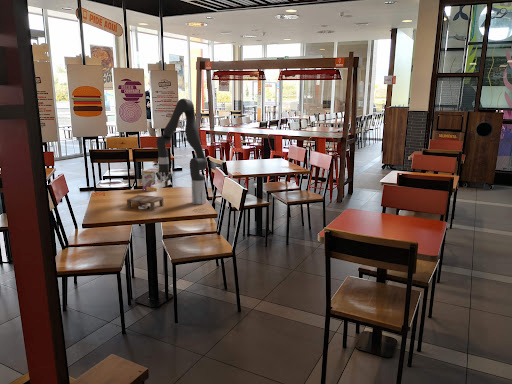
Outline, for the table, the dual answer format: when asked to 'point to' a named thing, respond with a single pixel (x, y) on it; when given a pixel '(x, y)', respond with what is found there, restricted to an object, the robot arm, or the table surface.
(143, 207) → the steel token
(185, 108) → the robot arm
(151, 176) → the candy bar box
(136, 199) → the low walnut stand
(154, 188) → the long white slat
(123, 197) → the table surface
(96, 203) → the table surface
